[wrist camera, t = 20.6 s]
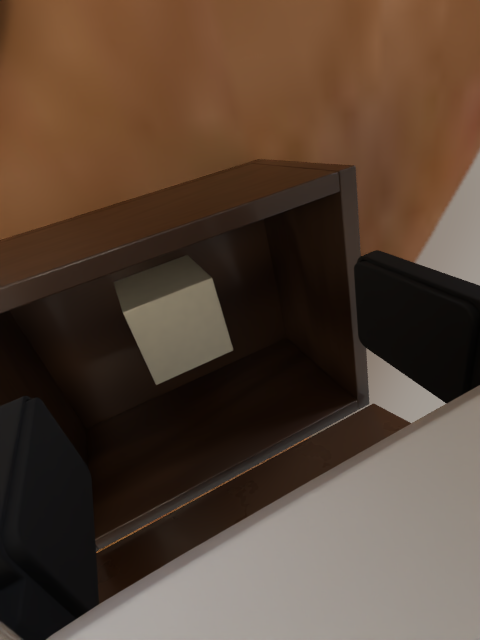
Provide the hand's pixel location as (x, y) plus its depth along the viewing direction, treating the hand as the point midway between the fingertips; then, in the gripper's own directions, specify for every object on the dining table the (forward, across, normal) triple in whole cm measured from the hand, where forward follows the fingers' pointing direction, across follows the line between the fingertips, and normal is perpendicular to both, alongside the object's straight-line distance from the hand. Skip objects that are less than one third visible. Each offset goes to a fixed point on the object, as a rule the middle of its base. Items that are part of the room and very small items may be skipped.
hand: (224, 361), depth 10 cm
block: (+12, 0, +3) cm, 13 cm away
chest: (+13, 0, +4) cm, 14 cm away
